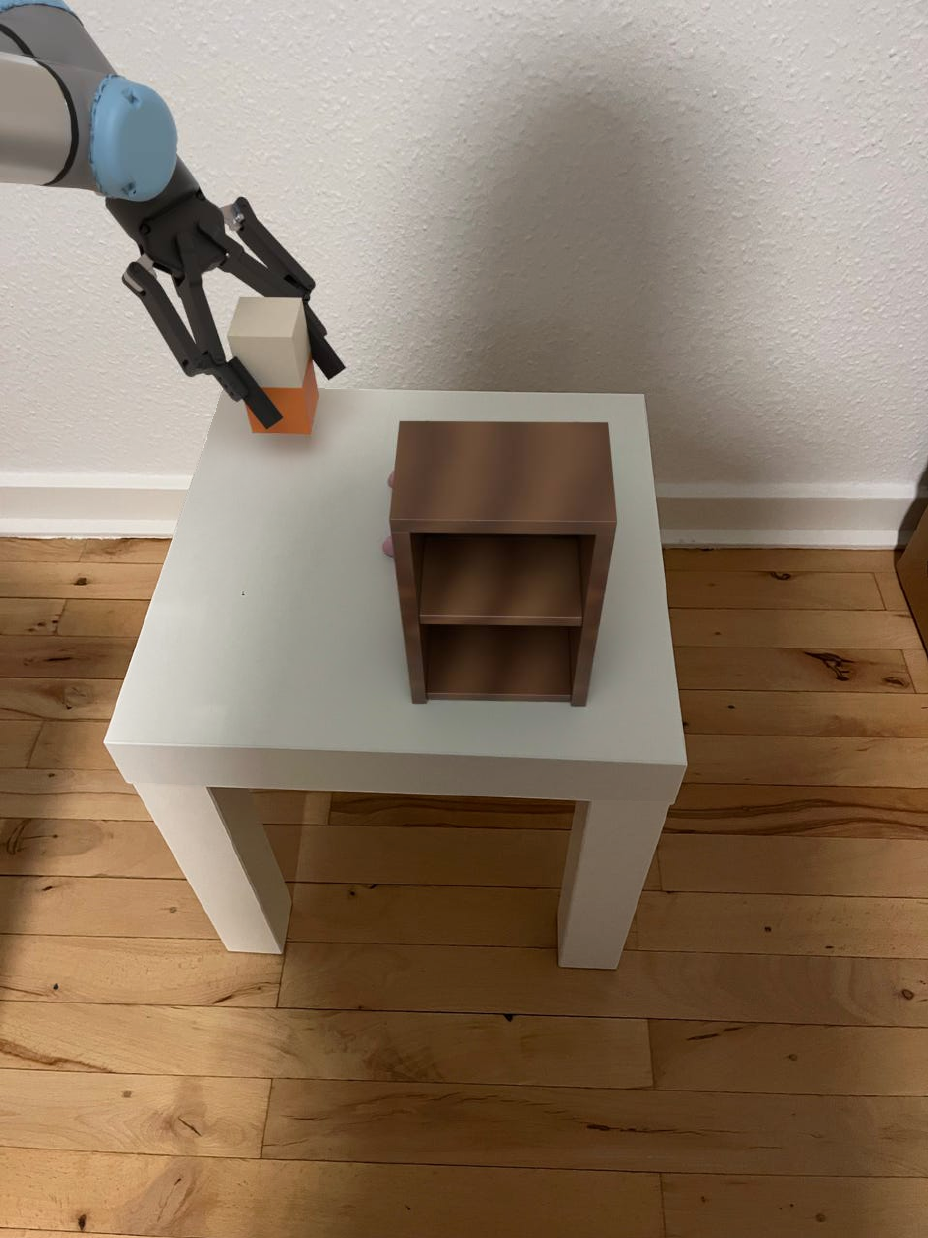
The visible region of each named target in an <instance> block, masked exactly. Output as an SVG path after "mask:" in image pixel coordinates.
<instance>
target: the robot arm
mask: <svg viewBox="0 0 928 1238" xmlns="http://www.w3.org/2000/svg"><path fill="white" fill-rule="evenodd" d="M178 136H179V135H178V130H177V126H176V122H175V119H174V116H173V113H172V111H171V109H170V107H169V105H168V104H167V102H166V101H165V100H164V98H163V97H162V96H161V95H160V94H159V93H158V92H157V91H156V90H154V89H153V88H152V87H151V86H148V85H145V84H143V83H140V82H136V81H134V80H130V79H128V78H126V77H125V76H123V75H119V74H118V72H117V71H116V70H115V68H114V67H113V66H112V64H111V63H110V61H109V60H108V59H107V57H106V55H104V53H103V51H102V50H101V48H100V47H99V46H98V44H97V43H96V41H95V40H94V39H93V38H92V36H91V35H90V33H89V32H88V31H87V29H86V28H85V24H84V23H83V22H82V20H81V18H80V17H79V16H78V15H77V13H75V11H73V10H72V9H71V7H69V5H67V4H66V2H65V1H64V0H0V183H1V184H19V185H33V186H40V187H45V188H46V187H47V188H64V189H65V188H66V189H79V190H86V191H90V192H91V191H92V192H94V193H95V195H96V196H97V197H102V198H105V199H104V202H105V205H104V206H105V208H106V209H107V210H108V212H109V213H110V214H111V216H112V217H113V218H114V219H115V221H116V222H117V223H118V225H119V226H120V227H121V228H122V230H123V231H124V232H125V233H126V235H127V236H128V237H129V238H130V239H132V240H133V241H134V242H135V244H136V245H137V248H138V250H139V255H140V257H139V258H138V259H137V260H136V261H131V262H129V264H128V266H127V267H126V268H125V270H124V272H123V273H122V276H121V282H122V284H123V285H124V286H125V287H126V288H128V290H130V292H132V294H134V296H136V297H137V298H138V299H139V300H140V301H141V303H142V305H143V306H144V308H145V310H146V311H147V313H148V315H149V316H150V318H151V320H152V322H153V323H154V325H155V326H156V328H157V330H158V331H159V333H160V335H161V336H162V338H163V340H164V341H165V343H166V345H167V347H168V348H169V350H170V351H171V353H172V355H173V356H174V359H175V360H176V361H177V363H178V365H179V366H180V368H181V370H182V372H183V373H184V375H185V376H186V377H189V378H195V377H196V376H197V375H203V374H204V375H205V376H213V377H214V378H215V380H216V381H217V383H218V384H219V385H220V386H221V388H222V389H223V390H224V392H226V393H227V395H228V397H229V398H230V399H231V400H232V401H234V402H235V403H239V402H240V401H241V400H242V401H243V402H245V403H246V405H247V406H248V407H249V408H250V410H251V411H252V412H253V413H254V415H255V416H256V417H257V419H258V420H259V421H260V422H261V424H262V425H263V426H264V427H265V429H266V430H267V429H268V428H270V427H271V426H273V425H274V424H276V423H277V422H278V421H280V420H281V419H282V418H284V417H283V416H282V415H281V413H280V412H279V411H278V409H277V408H276V407H275V405H274V404H273V403H272V402H271V400H270V399H269V398H268V396H267V395H266V394H265V393H264V391H263V390H262V389H261V387H260V386H259V385H258V384H257V382H256V381H255V380H254V378H253V377H252V376H251V374H250V373H249V372H248V371H247V369H246V368H245V367H244V365H243V364H242V363H241V362H240V360H239V359H238V358H237V356H235V357H232V358H230V359H229V360H227V357H226V353H225V350H224V347H223V344H222V340H221V338H220V335H219V332H218V329H217V326H216V322H215V320H214V317H213V314H212V311H211V307H210V305H209V302H208V298H207V296H206V293H205V289H204V285H203V284H204V280H203V275H204V274H205V273H208V272H212V271H214V270H216V268H217V269H219V270H220V271H222V272H223V273H226V274H231V275H232V276H234V277H235V278H236V279H238V280H239V281H241V282H242V283H244V284H245V285H247V286H248V287H249V288H251V289H252V290H254V292H256V293H258V294H260V296H261V297H282V298H302V303H303V308H304V314H305V319H306V325H307V331H308V336H309V342H310V347H311V353H312V359H313V363H315V364H316V366H317V367H318V369H319V371H321V373H322V375H324V377H325V378H326V380H327V381H331V380H332V379H333V378H335V377H336V376H338V375H340V373H342V372H343V371H344V370H345V369H347V366H346V365H345V363H344V362H343V360H341V358H340V357H339V355H338V354H337V352H336V351H335V350H334V348H333V347H332V346H331V345H330V343H329V341H327V339H326V338H325V337H326V336H327V335H328V331H327V328H326V327H325V325H324V324H323V323H322V321H321V320H320V319H319V317H318V316H317V315H316V313H315V312H314V310H313V309H312V308H311V306H310V303H309V302H310V301H311V295H312V292H313V291H314V290H315V289H316V286H317V283H316V281H315V279H314V278H313V277H312V276H311V275H310V273H308V271H307V270H305V268H304V267H303V266H302V265H301V264H300V263H299V261H297V260H296V258H294V257H293V256H292V254H290V252H289V250H287V249H286V248H285V247H284V245H282V244H281V242H280V241H278V240H277V238H276V237H275V236H274V235H273V234H272V233H271V232H270V231H269V229H267V228H266V227H265V225H264V224H263V223H262V222H261V221H260V220H259V219H258V217H257V214H256V213H255V212H254V209H253V208H252V205H251V203H250V202H249V200H248V199H247V198H246V197H244V196H238V197H236V199H235V200H234V202H233V203H230V204H227V205H224V206H221V207H219V206H218V205H217V204H216V203H213V202H212V201H211V200H209V199H208V198H207V196H205V194H204V192H203V190H202V188H201V185H200V183H199V182H198V180H197V178H196V177H195V176H194V175H193V173H192V172H191V171H190V169H189V168H188V167H187V166H186V164H185V162H184V161H183V160H182V158H181V157H180V156H179V155H178V153H177V152H178V146H177V145H178V142H179V137H178ZM226 225H227V226H228V229H229V231H231V232H235V233H236V234H237V236H238V237H239V239H240V240H241V241H242V242H243V244H244V245H245V246H246V247H247V248H248V249H249V250H250V251H251V252H252V253H253V254H254V255H255V256H256V257H257V258H258V259H259V260H260V261H259V260H258V259H256V258H254V256H252V255H250V254H249V253H248V252H247V251H245V248H244V246H243V245H242V244H241V243H240V242H238V241H237V240H235V239H233V237H231V236H230V235H229V234H226ZM155 270H157V271H160V272H162V273H164V274H167V275H169V276H170V278H171V281H172V284H173V287H174V289H175V292H176V295H177V297H178V298H179V299H180V300H181V301H180V302H181V303H182V306H183V309H184V312H185V315H186V318H187V321H188V324H189V327H190V330H191V333H192V334H191V333H190V331H189V330H188V328H187V326H186V324H185V322H184V321H183V319H182V318H181V316H180V314H179V313H178V311H177V309H176V308H175V306H174V304H173V302H172V301H171V299H170V297H169V295H168V294H167V292H166V290H165V289H164V287H163V286H162V284H161V283H160V282H159V280H158V276H157V272H156V271H155ZM245 403H244V404H245Z"/></svg>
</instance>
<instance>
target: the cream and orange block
mask: <svg viewBox="0 0 928 1238" xmlns="http://www.w3.org/2000/svg"><path fill="white" fill-rule="evenodd" d="M226 338H227V341H228V346H229V349H230V350H229V351H230V353H231V357H232V358H233V357H235V356H237V358H238V359H239V360H240V362H241V363H242V364H243V365H244V367H245V368H246V369H247V371H248V372H249V373H250V374H251V376H252V377H253V378H254V380H255V381H256V382H257V384H258V385H259V386H260V387H261V389H262V390H263V391H264V393H265V394H266V395H267V396H268V398H269V399H270V400H271V402H272V403H273V404H274V405H275V407H276V408H277V409H278V411H279V412H280V413H281V415H282V416H283V417H284V418H282V419H281V420H280V421H278V422H277V423H276V424H274V425H273V426H271V427H270V428H268V429H267V430H266V429H265V427H264V426H263V425H262V424H261V422H260V421H259V420H258V419H257V417H256V416H255V415H254V413H253V412H252V411H251V410H250V408H249V407H248V406H247V405H246V403H245V402H244V401H243V402H244V406H245V410H246V413H247V417H248V421H249V425H250V429H251V432H252V434H279V435H283V434H284V435H311V434H312V431H313V426H314V421H315V416H316V411H317V408H318V402H319V398H320V392H319V387H318V382H317V377H316V375H317V374H316V371H315V370H316V369H315V364H314V360H313V359H312V353H311V347H310V342H309V336H308V331H307V325H306V319H305V314H304V308H303V303H302V298H282V297H264V296H239V297H238V300H237V303H236V307H235V309H234V313H233V315H232V318H231V321H230V324H229V328H228V331H227V334H226Z"/></svg>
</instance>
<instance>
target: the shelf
mask: <svg viewBox="0 0 928 1238" xmlns="http://www.w3.org/2000/svg"><path fill="white" fill-rule="evenodd" d="M609 424H610V423H609V421H577V422H574V421H526V420H525V421H524V420H523V421H521V420H520V421H517V420H516V421H513V420H512V421H510V420H509V421H508V420H487V421H486V420H485V421H484V420H399V423H398V431H397V440H396V451H395V460H394V469H393V471H394V478H393V487H392V488H391V498H390V507H389V517H388V521H389V530H390V535H391V539H392V547H393V555H394V557H393V563H394V571H395V578H396V586H397V587H396V588H397V593H398V603H399V611H400V618H401V626H402V627H401V628H402V634H403V642H404V650H405V651H404V652H405V658H406V659H405V660H406V666H407V675H408V683H409V691H410V699H411V700H410V701H411V704H412V705H427V704H428V701H475V702H476V701H477V702H479V701H481V702H482V701H483V702H537V703H538V702H542V703H543V702H544V703H570V707H583V708H584V707H586V706H587V701H588V695H589V689H590V683H591V677H592V673H593V668H594V667H593V665H594V660H595V655H596V650H597V649H596V648H597V643H598V637H599V631H600V625H601V620H602V614H603V607H604V602H605V595H606V590H607V584H608V580H609V579H608V577H609V573H610V567H611V561H612V555H613V550H614V543H615V538H616V532H617V526H618V515H617V514H618V513H617V505H616V504H617V503H616V502H617V501H616V493H615V481H614V480H615V479H614V471H613V459H612V449H611V436H610V426H609Z"/></svg>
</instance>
